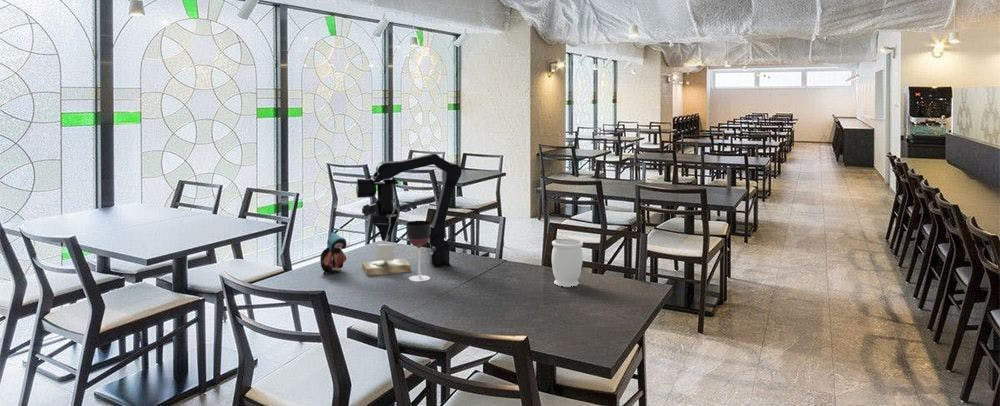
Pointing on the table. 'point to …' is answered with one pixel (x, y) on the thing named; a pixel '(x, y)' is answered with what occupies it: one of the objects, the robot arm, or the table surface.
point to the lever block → (386, 267)
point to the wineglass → (418, 241)
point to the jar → (567, 261)
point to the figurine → (333, 255)
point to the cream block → (385, 252)
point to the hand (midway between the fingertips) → (386, 238)
